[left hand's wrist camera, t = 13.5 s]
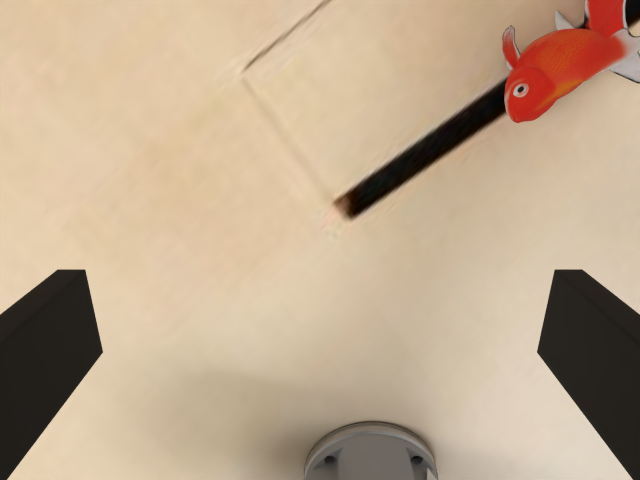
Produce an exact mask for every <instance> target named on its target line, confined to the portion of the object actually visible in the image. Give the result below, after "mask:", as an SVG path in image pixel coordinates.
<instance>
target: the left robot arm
mask: <svg viewBox="0 0 640 480" xmlns="http://www.w3.org/2000/svg"><path fill="white" fill-rule="evenodd" d="M102 353H103V350H102V346H101V341H100V336H99V332H98V327H97V322H96V318H95V313H94V308H93V304H92V299H91V294H90V290H89V285H88V280H87V276H86V271H85V270H57V271H55V272H54V273H53V274H52V275H50V276H49V277H48V278H46V279H45V280H44V281H43V282H41V283H40V284H39V285H38V286H36V287H35V288H34V289H32V290H31V291H30V292H29V293H27V294H26V295H25V296H24V297H22V298H21V299H20V300H18V301H17V302H16V303H15V304H13V305H12V306H11V307H9V308H8V309H7V310H6V311H4V312H3V313H2V314H1V315H0V480H7V479H8V478H9V476H10V475H11V474H12V472H13V471H14V470H15V468H16V467H17V466H18V464H19V463H20V462H21V460H22V459H23V458H24V456H25V455H26V454H27V452H28V451H29V450H30V448H31V447H32V446H33V444H34V443H35V442H36V440H37V439H38V438H39V436H40V435H41V434H42V432H43V431H44V430H45V428H46V427H47V426H48V424H49V423H50V422H51V420H52V419H53V418H54V416H55V415H56V414H57V412H58V411H59V410H60V408H61V407H62V406H63V405H64V403H65V402H66V401H67V399H68V398H69V397H70V395H71V394H72V393H73V391H74V390H75V389H76V387H77V386H78V385H79V383H80V382H81V381H82V379H83V378H84V377H85V375H86V374H87V373H88V371H89V370H90V369H91V367H92V366H93V365H94V363H95V362H96V361H97V359H98V358H99V357H100V355H101V354H102ZM537 353H538V354H539V355H540V357H541V358H542V359H543V361H544V362H545V363H546V365H547V366H548V367H549V369H550V370H551V371H552V373H553V374H554V375H555V377H556V378H557V379H558V381H559V382H560V383H561V385H562V386H563V387H564V389H565V390H566V391H567V393H568V394H569V395H570V397H571V398H572V399H573V401H574V402H575V403H576V405H577V406H578V407H579V408H580V410H581V411H582V412H583V414H584V415H585V416H586V418H587V419H588V420H589V422H590V423H591V424H592V426H593V427H594V428H595V430H596V431H597V432H598V434H599V435H600V436H601V438H602V439H603V440H604V442H605V443H606V444H607V446H608V447H609V448H610V450H611V451H612V452H613V454H614V455H615V456H616V458H617V459H618V460H619V462H620V463H621V464H622V466H623V467H624V468H625V470H626V471H627V472H628V474H629V475H630V476H631V478H632V479H633V480H640V315H639V314H638V313H637V312H636V311H634V310H633V309H632V308H631V307H629V306H628V305H627V304H625V303H624V302H623V301H622V300H620V299H619V298H618V297H616V296H615V295H614V294H613V293H611V292H610V291H609V290H608V289H606V288H605V287H604V286H602V285H601V284H600V283H599V282H597V281H596V280H595V279H594V278H592V277H591V276H590V275H588V274H587V273H586V272H585V271H583V270H555V271H554V276H553V280H552V285H551V290H550V294H549V299H548V304H547V308H546V313H545V318H544V322H543V327H542V332H541V336H540V341H539V346H538V350H537ZM304 480H438V474H437V470H436V466H435V463H434V459H433V456H432V454H431V452H430V450H429V448H428V447H427V445H426V444H425V443H424V442H423V441H422V440H421V439H420V438H419V437H418V436H416V435H415V434H413V433H412V432H410V431H408V430H406V429H404V428H401V427H399V426H396V425H392V424H387V423H379V422H365V423H357V424H352V425H349V426H345V427H342V428H340V429H338V430H335V431H333V432H332V433H330V434H328V435H327V436H325V437H324V438H323V439H321V440H320V441H319V442H318V443H317V444H316V445H315V446H314V448H313V449H312V450H311V452H310V454H309V456H308V458H307V460H306V464H305V472H304Z"/></svg>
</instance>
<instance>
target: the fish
mask: <svg viewBox="0 0 640 480" xmlns="http://www.w3.org/2000/svg"><path fill="white" fill-rule="evenodd" d="M625 1H626V0H585V18H584V25H585V29H577V28H576V29H575V28H574V27H573V25H571V24H570V23H569V22H568V21H567V20H566V19H565V18H564V17H563V16H562V15H561V14H560V12H559V11H555V24H556V29H557V31H554V32H551V33H549V34H547V35H545V36H543V37H541V38H539V39H537V40H535V41H534V42H533V43H531V44H530V45H529V46H528V47H527V48H526V49H525V50H524V51H523V52H522V53H521V55H520V53H519V50H518V49H517V46H516V44H515V29H514V27H513V26H512V25H511V26H510V27H508V28H507V29H506V30H505V32H504V34H503V49H502V50H503V53H504V56H505V58H506V66H507V68H508V69H510V70H511V71H510V73H509V76H508V79H507V82H506V86H505V107H506V111H507V114H508V115H509V117H510V118H511V119H512V120H513V121H514V122H516V123H520V122H523V121H532V120H535V119H537V118H538V117H540V116H541V115H542V114H543V113H545V112H546V111H547V110H548V109H549V108H550V107H551V106H552V105H553V104H554V103H555V101H556V100H557V99H559V98H561V97H563V96H564V95H566V94H568V93H570V92H571V91H573V90H574V89H575V88H576V87H578V86H579V85H580V84H581V83H582V82H584V81H586V80H588V79H590V78H592V77H594V76H596V75H598V74H599V73H601V72H603V71H605V70H607V69H609V70H611V71H612V72H614V73H616V74H618V75H620V76H623V77H625V78H627V79H629V80H631V81H633V82H636V83H640V54H639V52H638V51H639V50H640V36H638V37H635V36H632V35H631V33H630V32H629V30H628V27H627V23H626V20H625Z"/></svg>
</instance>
